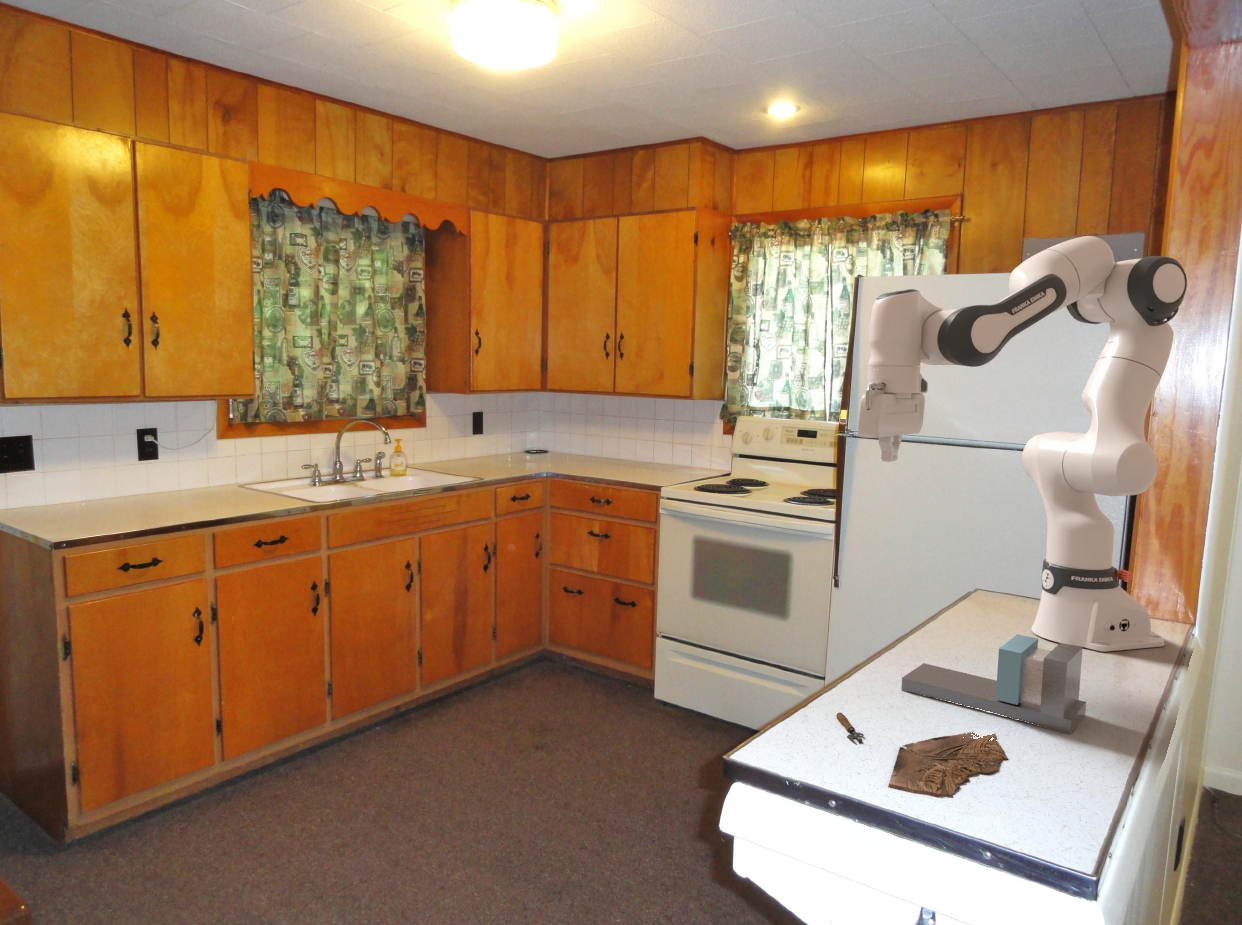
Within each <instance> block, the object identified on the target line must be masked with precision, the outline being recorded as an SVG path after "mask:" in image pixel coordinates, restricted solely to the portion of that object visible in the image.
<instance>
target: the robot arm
mask: <svg viewBox="0 0 1242 925" xmlns="http://www.w3.org/2000/svg"><path fill="white" fill-rule="evenodd" d="M1009 276H1010V277H1009V279H1008V280H1009V281H1008V293H1009V295H1007V296H1005V297H1003V298H1002V299H1000V300H998V301H997V302H995V303H993V304H990V305H989V304H976V305H970V306H969V305H968V306H965V307H959V308H951V309H943V308H942V307H939V306H937V305H935V304H933V303H931V302H929V301H928V300H927V299H926V298H925V297H923V295H922V294H921V291H919V290H918V289H913V288H912V289H904V290H898V291H896V290H895V291H892V292H885V293H883V294H881V295H879V296H878V297H876V298H875V300H874V302H873V305H872V309H871V313H870V314H871V315H870V320H869V321H870V322H869V329H868V330H869V332H868V335H869V336H868V344H869V348H870V356H869V359H868V363H867V375H866V376H867V378H866V391H865V393H864V394H863V395H862V396H861V400H860V404H859V409H858V410H859V411H858V420H857V432H858V436H859V437H861V438H869V439H878V444H879V448H880V451H881V455H880V456H881V457H880V459H881V461H882V462H888V463H890V462H896V461H897V460H898V458H899V455H898V454H899V451H900V446H901V444H902V441H903V440H902V437H903V436H905V435H912V434H915V435H916V434H919V433H920V431H922V427H923V423H924V414H925V406H926V404H925V403H926V400H925V395H924V394H927V393H928V390H929V382H928V381H927V380H926V379H925V378H924V377H923V375H922V374H921V364H924V365H930V366H961V367H963V366H964V367H970V368H971V367H973V368H974V367H975V368H976V367H981V366H984V365H986V364H988V363H990V362H991V361H992V360H994V358H996V357H997V356H998V355H999V354H1000V352H1001V351H1002V350H1003V348H1004V347H1005V346H1006V345H1007V344H1008V343H1009V341H1011V339H1013V338H1014V337H1016V336H1017V335H1018V334H1020V333H1022V332H1023V331H1025V330H1026V329H1028V328H1030V327H1031V326H1033V325H1035V324H1036V323H1038V322H1039V321H1041V320H1043V319H1044V318H1046V317H1048V316H1049V315H1050V314H1052V313H1055V312H1057V311H1060V310H1062V309H1063V308H1066V309H1067V312H1068V313H1069V315H1070V316H1071V317H1072V318H1073V319H1074V320H1076V321H1078V322H1080V323H1083V324H1090V325H1098V324H1104V323H1106V324H1107V323H1108V324H1109V335H1108V340H1107V342H1106V343H1105V344H1104V347H1103V348H1102V350H1101V352H1100V354H1099V356H1098V358H1097V360H1096V363H1095V365H1094V367H1093V369H1092V371H1091V373H1090V375H1089V377H1088V380H1087V382H1086V384H1085V387H1084V389H1083V391H1082V394H1081V401H1082V404H1083V407H1085V409H1086V411H1088V413H1089V414H1090V415H1091V422H1090V427H1089V428H1088V430H1087V432H1075V431H1062V430H1060V431H1050V432H1044V433H1040V434H1036V435H1034V436H1033V437H1031V438H1030V439H1029V440H1028V441H1027V442H1026V444H1025V446H1024V448H1023V451H1022V455H1021V456H1022V457H1021V464H1022V467H1023V470H1024V472H1025V473H1026V475H1027V476H1028V477H1029V478H1030V479H1031V481H1032V482H1033V483H1034V485H1035V486H1036V488H1037V490H1038V492H1039V495H1040V497H1041V499H1042V500H1041V501H1042V503H1043V506H1044V510H1045V516H1046V527H1047V528H1046V547H1045V548H1046V550H1045V559H1043V561H1042V567H1041V568H1042V569H1041V570H1042V572H1041V590H1042V591H1041V596H1040V600H1039V604H1038V609H1037V612H1036V616H1035V618H1034V622H1033V624H1032V626H1031V632H1032V633H1033V634H1034V635H1036V636H1038V637H1041V638H1043V639H1047V640H1049V641H1052V642H1055V643H1058V644H1060V643H1063V644H1068V645H1073V646H1078V647H1083V648H1086V649H1090V650H1094V651H1096V652H1097V651H1098V652H1114V651H1126V650H1137V649H1147V648H1157V647H1158V648H1159V647H1164V646H1165V645H1166V644H1165V639H1164V638H1163V637H1162V636H1160V635H1159V634H1158V633H1156V632H1154V631H1153V630H1152V624H1151V618H1150V613H1149V611H1148V609H1147V608H1146V607H1145V606H1144V605H1143V604H1142V603H1141V602H1139V601H1138V600H1136V599H1135V598H1134V597H1133V596H1132V595H1130V594H1129V593H1128V592H1127V591H1126V590H1124V589H1123V587H1121V586H1120V582H1119V580H1121V581H1123V582H1126V583H1128V582H1131V581H1132V579H1133V577H1134V576H1133V573H1132V572H1131V571H1129V570H1126V569H1122V568H1121V569H1118V568H1116V567H1114V566H1113V553H1114V539H1115V528H1114V525H1113V522H1112V521H1111V520H1110V518H1109V517H1108V516H1106V515H1105V514H1104V513H1103V512H1102V510H1101V509H1100V507H1099V505H1098V502H1097V500H1096V497H1095V495H1103V496H1108V497H1124V496H1125V497H1126V496H1136V495H1141V494H1143V493H1144V492H1146V491H1147V490H1148V489H1149V488H1150V487H1151V486H1152V485H1153V483H1154V481H1155V479H1156V478H1157V474H1158V459H1157V456H1156V453H1155V452H1154V450H1153V448H1151V446H1150V445H1149V443H1148V441H1147V440H1146V435H1145V423H1146V422H1145V421H1146V417H1147V412H1148V410H1149V407H1150V405H1151V402H1152V400H1153V398H1154V395H1155V393H1156V390H1157V389H1158V387H1159V386H1158V385H1159V384H1160V382H1161V379H1162V377H1163V374H1164V373H1165V370H1166V368H1167V365H1168V361H1169V358H1170V354H1171V351H1172V347H1173V343H1174V335H1175V334H1174V330H1173V328H1172V326H1171V325H1170V323H1169V321H1171V320H1173V318H1175V316H1176V315H1177V313H1178V312H1179V310H1180V309H1179V307H1180V306H1181V305H1182V302H1183V301H1184V298H1185V295H1186V291H1187V288H1188V278H1187V274H1186V272H1185V269H1184V267H1183V265H1182V264H1181V262H1179V261H1178V260H1176V259H1175V258H1173V257H1170V256H1162V255H1160V256H1159V255H1151V256H1145V257H1143V258H1133V259H1127V260H1122V261H1121V260H1120V261H1115V258H1114V252H1113V250H1112V248H1111V247H1110V245H1109V244H1108V243H1107V242H1106V241H1105V240H1103V239H1102V238H1100V237H1097V236H1094V235H1085V236H1079V237H1076V238H1071V239H1068V240H1066V241H1065V240H1064V241H1062V242H1060V243H1058V244H1055V245H1052V246H1050V247H1048V248H1046V249H1043V250H1041V251H1039V252H1038V253H1035V254H1034V255H1032V256H1030V257H1029V258H1027V259H1025V260H1024V261H1022V262H1021V263H1020V264H1019V265H1017V266H1016V267H1015V268H1014V269H1013V270H1012V271H1011V273H1010V275H1009Z"/></svg>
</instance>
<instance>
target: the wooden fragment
mask: <svg viewBox="0 0 1242 925" xmlns="http://www.w3.org/2000/svg"><path fill="white" fill-rule="evenodd" d="M971 732H972V733H971ZM973 732H974V731H968V732H964V733H958V734H952V735H944V736H939V737H931V738H928V739H924V740H919V741H917V742H910V743H907V744H906V743H905V744H904V745H902V746H900V747H899V748H898V752H897V755H896V760H895V762H894V765H893V769H892V772H891V776H890V778H889V782H888V785H887V788H889V787H890V788H891V789H895V790H900V791H903V792H907V793H910V794H918V795H928V796H933V797H947V798H954V796H953V795H954V794H956V791H957V790H959V788H960V786H961V784H965V783H966V782H968V781H970V777H974V776H975V775H977V774H979V775H986V774H990V773H995V772H996V771H999V766H1000V764H1001V762H1003V761H1008V759H1009V758H1008V755H1006V754H1005V750H1004V749H1003V747H1002V746H1001V745H999V744H1000V743H999V741H998V740H997V739H996V738H997V735H996V734H995V733H994V734H992V735H987V736H983V738H981V737H980V738H978V739H973V735H975V733H973ZM966 733H967V734H966ZM971 734H973V735H971ZM975 736H976V737H979V735H978V736H977V734H976V735H975ZM975 736H974V737H975ZM963 737H964V738H963ZM971 737H972V738H971ZM992 737H993V738H994V739H993V740H992V741H991V740H990V739H991V738H992ZM989 740H990V741H989ZM996 740H997V741H996Z"/></svg>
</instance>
